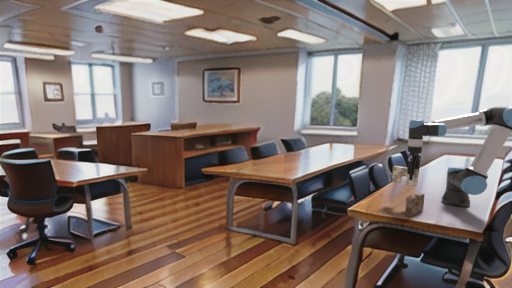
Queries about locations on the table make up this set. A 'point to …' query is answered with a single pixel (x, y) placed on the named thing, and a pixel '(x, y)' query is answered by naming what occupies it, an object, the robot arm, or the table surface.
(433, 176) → the table surface
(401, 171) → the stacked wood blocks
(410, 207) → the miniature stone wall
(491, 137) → the robot arm
